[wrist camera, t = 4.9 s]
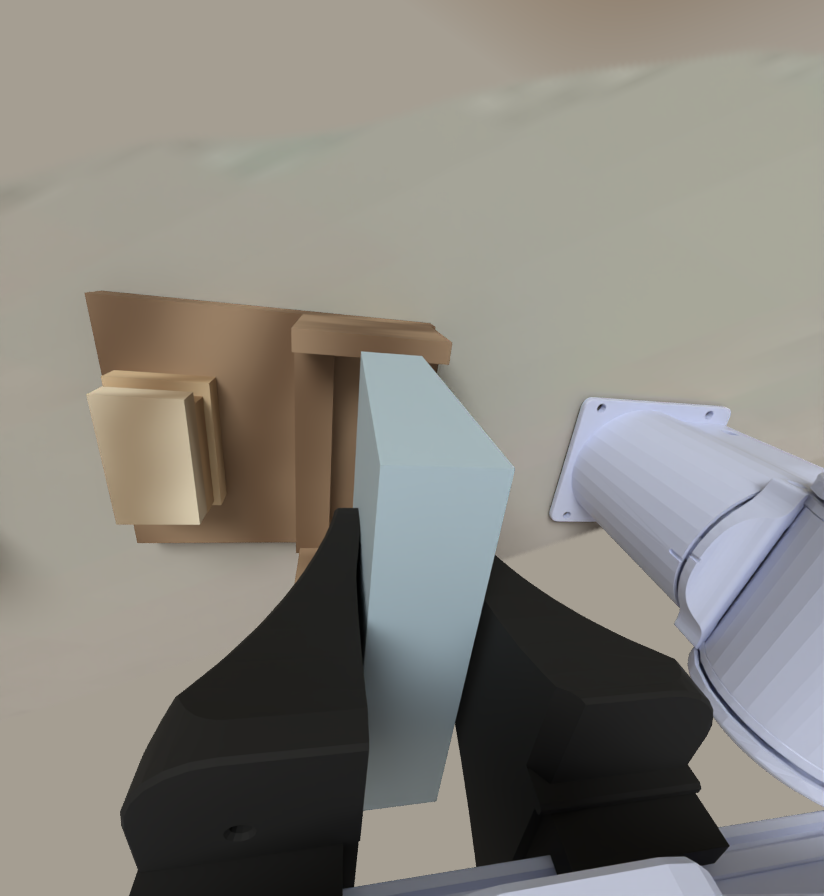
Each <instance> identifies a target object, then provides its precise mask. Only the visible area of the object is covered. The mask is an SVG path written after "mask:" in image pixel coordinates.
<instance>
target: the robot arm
mask: <svg viewBox="0 0 824 896" xmlns="http://www.w3.org/2000/svg"><path fill="white" fill-rule="evenodd" d="M600 404H602V407H601V408H600V409H599V410H597V407H598V406H599V405H600ZM707 412H708V413H707ZM706 413H707V415H706ZM705 415H706V416H705ZM730 415H731V410H730V409H729V408H726V407H723V406H713V405H698V404H684V403H669V402H655V401H641V400H626V399H612V398H597V397H590V398H587V399H586V400H585V401H584V402H583V403H582V406H581V409H580V412H579V415H578V419H577V422H576V425H575V429H574V432H573V435H572V439H571V442H570V445H569V449H568V452H567V455H566V459H565V462H564V465H563V469H562V472H561V475H560V479H559V482H558V485H557V489H556V492H555V495H554V498H553V502H552V505H551V508H550V512H549V515H550V517H551V518H552V520H554V521H572V522H597V523H598V524H599V525H600V526H601V527H602V528H603V529H604V530H605V531H606V532H607V533H608V534H609V535H610V536H611V537H612V538H613V539H614V540H615V542H617V544H619V546H620V547H621V548H622V549H623V550H624V551H625V552H626V553H627V554H628V555H629V556H630V557H631V558H632V559H633V560H634V561H635V562H636V563H637V564H638V565H639V566H640V567H641V568H642V569H643V570H644V572H645V573H646V574H647V575H648V576H649V577H650V578H651V579H652V580H653V581H654V582H655V583H656V584H657V585H658V586H659V587H660V588H661V589H662V590H663V591H664V592H665V593H666V594H667V595H668V596H669V597H670V598H671V599H672V601H673V602H674V603H675V604H676V605H677V606H678V607H679V608H680V612H679V614H678V617H677V619H676V621H675V623H674V625H675V626H676V627H677V628H678V629H679V630H680V631H681V633H682V634H683V635H684V636H685V637H686V638H687V639H688V640H689V641H690V642H691V644H692V645H693V646H694V648H693V649H692V650H691V652H690V654H689V658H688V669H689V674H690V677H691V678H690V677H689V675H688V674H687V673H686V672H685V671H684V669H683V668H682V667H681V666H680V665H679V663H678V662H677V661H676V660H675V659H673V658H671V657H669V656H666V655H664V654H662V653H659V652H657V651H655V650H652V649H650V648H648V647H645V646H643V645H641V644H638V643H636V642H634V641H631V640H629V639H627V638H625V637H623V636H621V635H618V634H617V633H615V632H612V631H611V630H609V629H606V628H604V627H603V626H601V625H599V624H596V623H595V622H593V621H591V620H589V619H587V618H585V617H583V616H582V615H580V614H578V613H576V612H575V611H573V610H571V609H570V608H568V607H566V606H565V605H563V604H561V603H560V602H558V601H556V600H555V599H553V598H552V597H550V596H549V595H547V594H546V593H544V592H543V591H541V590H540V589H538V588H537V587H535V586H534V585H532V584H531V583H530V582H528V581H527V580H525V579H524V578H523V577H521V576H520V575H519V574H517V573H516V572H515V571H514V570H512V569H511V568H510V567H509V566H508V565H506V564H505V563H504V562H503V561H502V560H500V559H499V558H498V557H497V556H496V555H495V556H494V560H493V564H492V568H491V572H490V577H489V581H488V585H487V589H486V594H485V598H484V602H483V606H482V610H481V615H480V619H479V623H478V627H477V632H476V636H475V640H474V644H473V648H472V653H471V657H470V661H469V665H468V670H467V674H466V678H465V682H464V687H463V691H462V695H461V699H460V703H459V708H458V712H457V716H456V720H455V726H456V732H457V737H458V743H459V750H460V756H461V762H462V769H463V775H464V781H465V789H466V795H467V802H468V808H469V815H470V823H471V831H472V837H473V845H474V852H475V860H476V867H474V868H468V869H462V870H456V871H449V872H443V873H438V874H431V875H425V876H419V877H413V878H407V879H400V880H394V881H388V882H382V883H377V884H370V885H364V886H358V887H354V882H355V872H356V862H357V852H358V842H359V841H360V836H361V826H362V816H363V807H364V797H365V787H366V778H367V768H368V758H369V726H368V707H367V698H366V690H365V681H364V672H363V662H362V652H361V640H360V629H359V615H358V601H357V574H358V558H359V542H360V519H359V510H358V508H337V509H336V510H335V511H334V514H333V518H332V521H331V524H330V526H329V528H328V530H327V533H326V535H325V537H324V539H323V540H322V542H321V544H320V546H319V548H318V550H317V551H316V553H315V555H314V556H313V558H312V559H311V561H310V563H309V564H308V566H307V567H306V569H305V570H304V572H303V573H302V575H301V576H300V577H299V579H298V580H297V582H296V583H295V584H294V586H293V587H292V588H291V589H290V591H289V592H288V593H287V594H286V596H285V597H284V598H283V599H282V601H281V602H280V603H279V604H278V605H277V606H276V607H275V608H274V610H273V611H272V612H271V613H270V614H269V615H268V616H267V617H266V619H265V620H264V621H263V622H262V623H261V624H260V625H259V626H258V627H257V628H256V629H255V630H254V631H253V632H252V633H251V634H250V635H249V636H247V637H246V638H245V639H244V640H243V641H242V642H241V643H240V644H239V645H238V646H237V647H236V648H235V649H234V650H232V651H231V652H230V653H229V654H228V655H227V656H226V657H225V658H224V659H223V660H221V661H220V662H219V663H218V664H217V665H215V666H214V667H213V668H212V669H210V670H209V671H208V672H207V673H205V674H204V675H203V676H202V677H200V678H199V679H198V680H197V681H195V682H194V683H193V684H192V685H190V686H189V687H188V688H187V689H185V690H184V691H183V692H182V693H180V694H179V695H178V696H176V697H175V699H174V700H173V702H172V704H171V705H170V707H169V709H168V710H167V712H166V714H165V716H164V717H163V719H162V721H161V722H160V724H159V726H158V728H157V730H156V732H155V734H154V735H153V737H152V739H151V740H150V742H149V744H148V746H147V749H146V750H145V752H144V754H143V756H142V759H141V761H140V763H139V766H138V769H137V771H136V773H135V776H134V778H133V781H132V784H131V786H130V789H129V791H128V793H127V796H126V798H125V801H124V803H123V806H122V809H121V811H120V816H121V826H122V829H123V831H124V834H125V837H126V839H127V842H128V845H129V847H130V850H131V853H132V855H133V858H134V860H135V863H136V866H137V868H138V872H137V874H136V877H135V880H134V883H133V886H132V889H131V892H130V895H129V896H824V810H822V811H816V812H811V813H804V814H797V815H792V816H785V817H780V818H773V819H767V820H761V821H755V822H749V823H743V824H737V825H730V826H724V827H717V825H716V824H715V822H714V821H713V819H712V818H711V816H710V815H709V813H708V812H707V810H706V809H705V807H704V806H703V804H702V803H701V801H700V800H699V798H698V796H697V795H696V793H698V792H699V791H700V790H701V786H700V782H699V781H698V779H697V778H696V776H695V775H694V773H693V772H692V770H691V769H690V767H689V766H688V763H689V761H690V760H691V759H692V757H693V756H694V754H695V753H696V751H697V750H698V748H699V747H700V745H701V744H702V742H703V741H704V739H705V738H706V736H707V734H708V732H709V730H710V728H711V726H712V720H713V718H714V719H715V720H716V722H717V723H718V724H719V725H720V727H721V728H722V729H723V730H724V732H725V733H726V734H727V735H728V736H729V737H730V738H731V739H732V740H733V741H734V743H735V744H736V745H737V746H738V747H739V748H740V749H742V751H743V752H745V753H746V754H747V755H748V756H749V757H750V758H751V759H752V760H753V761H755V762H756V763H757V764H758V765H759V766H761V767H762V768H763V769H764V770H766V771H767V772H768V773H769V774H771V775H772V776H773V777H775V778H776V779H777V780H779V781H780V782H782V783H783V784H785V785H786V786H788V787H789V788H791V789H792V790H794V791H796V792H798V793H799V794H801V795H803V796H805V797H806V798H808V799H810V800H811V801H813V802H815V803H817V804H819V805H821V806H823V807H824V468H822V467H820V466H818V465H815V464H813V463H811V462H809V461H806V460H804V459H802V458H799V457H797V456H795V455H792V454H790V453H788V452H785V451H783V450H781V449H778V448H776V447H774V446H771V445H769V444H767V443H765V442H762V441H760V440H758V439H755V438H753V437H751V436H748V435H746V434H744V433H741V432H739V431H737V430H734V429H732V428H730V427H727V426H726V424H727V422H728V420H729V418H730ZM565 512H567V513H566V514H565V515H563V514H564V513H565Z"/></svg>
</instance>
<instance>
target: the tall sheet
mask: <svg viewBox="0 0 824 896" xmlns="http://www.w3.org/2000/svg"><path fill="white" fill-rule="evenodd" d="M514 471H515V468H514V467H513V465H512V464H511V463H510V462H509V461H508V459H507V458H506V457H505V456H504V455H503V453H502V452H501V451H500V450H499V448H498V447H497V446H496V445H495V444H494V442H493V441H492V440H491V439H490V438H489V436H488V435H487V434H486V433H485V432H484V430H483V429H482V428H481V427H480V426H479V424H478V423H477V422H476V421H475V419H474V418H473V417H472V416H471V415H470V413H469V412H468V411H467V410H466V409H465V407H464V406H463V405H462V404H461V403H460V401H459V400H458V399H457V398H456V396H455V395H454V394H453V393H452V392H451V390H450V389H449V388H448V387H447V386H446V384H445V383H444V382H443V381H442V380H441V378H440V377H439V376H438V375H437V373H436V372H435V371H434V370H433V369H432V367H431V366H430V365H429V364H428V363H427V361H426V360H425V359H424V358H423V357H422V356H414V355H401V354H388V353H375V352H362V351H361V361H360V381H359V400H358V419H357V438H356V457H355V476H354V496H353V508H358V510H359V519H360V542H359V558H358V574H357V601H358V615H359V629H360V640H361V652H362V662H363V672H364V681H365V690H366V698H367V707H368V726H369V758H368V768H367V778H366V787H365V797H364V807H363V811H365V810H372V809H381V808H388V807H396V806H404V805H412V804H419V803H427V802H435V801H436V800H437V796H438V791H439V788H440V784H441V779H442V775H443V771H444V766H445V762H446V758H447V754H448V750H449V745H450V741H451V737H452V733H453V728H454V725H455V720H456V716H457V712H458V708H459V703H460V699H461V695H462V691H463V687H464V682H465V678H466V674H467V670H468V665H469V661H470V657H471V653H472V648H473V644H474V640H475V636H476V632H477V627H478V623H479V619H480V615H481V610H482V606H483V602H484V598H485V594H486V589H487V585H488V581H489V577H490V572H491V568H492V564H493V560H494V556H495V551H496V547H497V543H498V539H499V534H500V530H501V526H502V522H503V518H504V513H505V509H506V505H507V501H508V496H509V492H510V488H511V484H512V480H513V475H514Z"/></svg>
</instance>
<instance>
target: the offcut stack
mask: <svg viewBox="0 0 824 896" xmlns="http://www.w3.org/2000/svg"><path fill="white" fill-rule="evenodd" d="M101 379H102V384H103V387H100V388H98V389H96V390H94V391H92V392H90V393H88V394H86V396H87V400H88V404H89V408H90V413H91V417H92V421H93V426H94V430H95V434H96V438H97V443H98V447H99V451H100V456H101V460H102V464H103V469H104V473H105V477H106V481H107V486H108V490H109V494H110V499H111V503H112V507H113V511H114V516H115V520H116V524H135V525H200V524H201V522H202V520H203V518H204V517H205V515H206V513H208V512H209V510H210V508H211V506H212V505H221V504H222V503H223V501H224V499H225V497H226V495H227V491H226V480H225V469H224V458H223V448H222V437H221V426H220V415H219V404H218V393H217V382H216V377H210V376H195V375H180V374H165V373H150V372H135V371H120V370H113V371H111V372H109V373H107V374H105V375H102V376H101Z"/></svg>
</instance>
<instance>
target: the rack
mask: <svg viewBox="0 0 824 896" xmlns="http://www.w3.org/2000/svg"><path fill="white" fill-rule="evenodd" d="M85 297H86V302H87V307H88V312H89V316H90V321H91V326H92V331H93V335H94V340H95V345H96V349H97V354H98V359H99V364H100V368H101V373H102V375H105V374H107V373H109V372H111V371H113V370H120V371H135V372H150V373H165V374H180V375H195V376H210V377H216V382H217V393H218V404H219V415H220V426H221V437H222V448H223V458H224V469H225V480H226V491H227V495H226V497H225V499H224V501H223V503H222V504H221V505H212V506H211V508H210V510H209V512H208V513H206V515H205V517H204V518H203V520H202V522H201V524H200V525H135V524H134V529H135V534H136V538H137V543H234V542H296V553H299V559H298V565H297V571H296V578H295V583H296V582H297V580H298V579H299V577H300V576H301V575H302V573H303V572H304V570H305V569H306V567H307V566H308V564H309V563H310V561H311V559H312V558H313V556H314V555H315V553H316V551H317V550H318V548H319V546H320V544H321V542H322V540H323V539H324V537H325V535H326V533H327V530H328V528H329V526H330V524H331V521H332V518H333V514H334V511H335V510H336V509H337V508H353V496H354V476H355V457H356V438H357V419H358V400H359V381H360V361H361V351H362V352H375V353H388V354H401V355H414V356H422V357H423V358H424V359H425V360H426V361H427V363H428V364H429V365H430V366H431V367H432V369H433V370H434V371H435V372H436V373H437V368H438V364H446V365H449V361H450V354H451V348H452V342H451V341H449V340H448V339H447V338H445V337H444V336H443V335H441V334H440V333H439V332H437V331H436V330H435V326H433V325H432V324H430V323H422V322H412V321H402V320H392V319H381V318H371V317H361V316H351V315H341V314H331V313H321V312H311V311H301V310H290V309H280V308H270V307H260V306H250V305H240V304H230V303H220V302H210V301H200V300H189V299H179V298H169V297H159V296H149V295H139V294H129V293H119V292H109V291H96V292H87V293H85Z"/></svg>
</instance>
